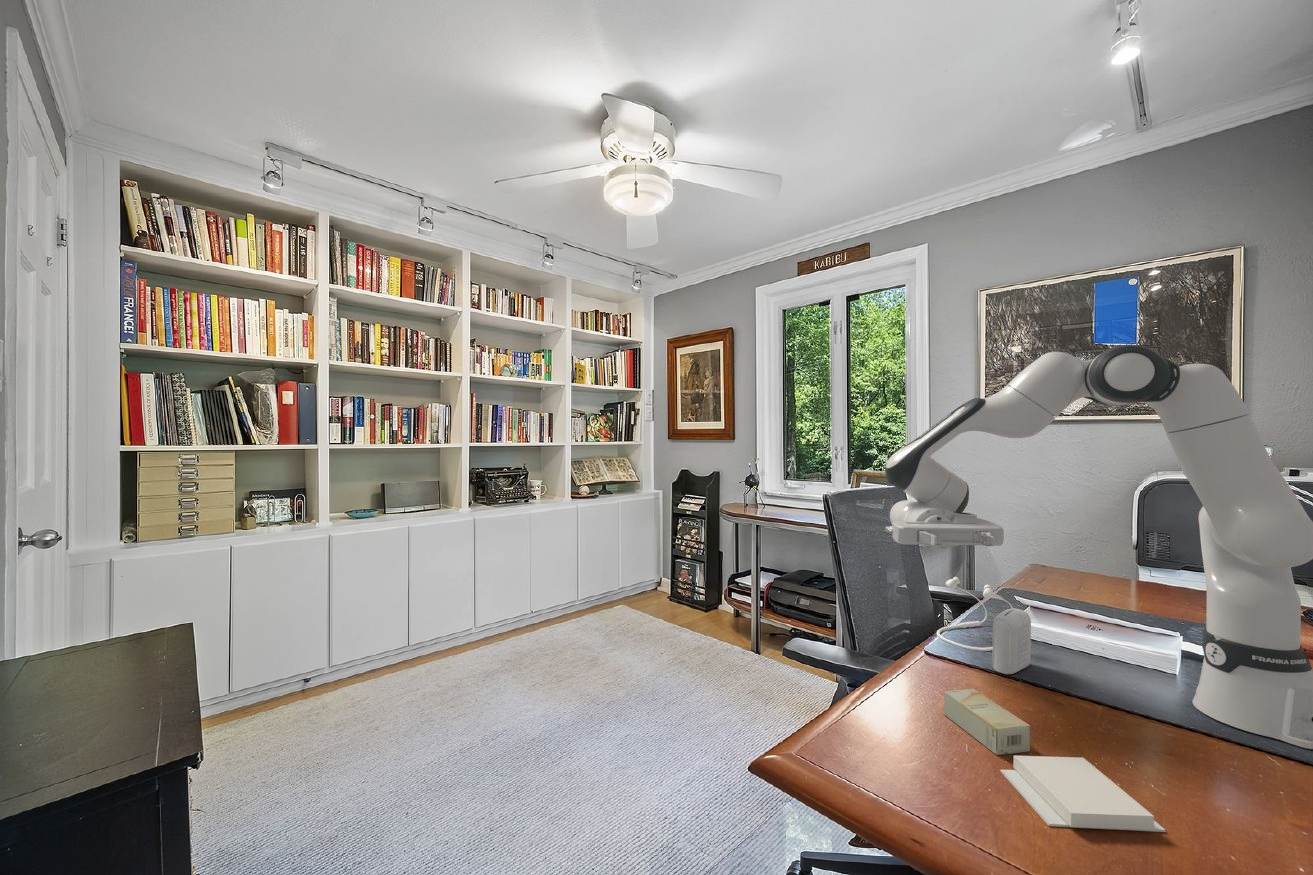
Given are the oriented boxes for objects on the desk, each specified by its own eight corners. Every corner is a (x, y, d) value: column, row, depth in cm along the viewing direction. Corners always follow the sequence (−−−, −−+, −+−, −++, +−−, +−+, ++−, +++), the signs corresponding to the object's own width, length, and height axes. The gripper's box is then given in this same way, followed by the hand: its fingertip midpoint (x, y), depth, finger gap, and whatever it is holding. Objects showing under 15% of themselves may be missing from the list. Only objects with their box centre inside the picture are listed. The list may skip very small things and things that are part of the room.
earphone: (1032, 621, 131) (1001, 582, 124) (1007, 683, 126) (974, 646, 119) (975, 605, 143) (945, 569, 136) (951, 661, 138) (918, 626, 131)
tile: (1083, 757, 79) (1154, 816, 67) (1083, 770, 79) (1153, 831, 67) (1013, 755, 80) (1071, 813, 68) (1013, 768, 80) (1071, 828, 68)
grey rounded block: (1011, 658, 119) (1012, 602, 119) (1033, 665, 115) (1034, 608, 115) (988, 669, 113) (989, 611, 113) (1011, 677, 110) (1011, 617, 110)
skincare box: (997, 729, 83) (942, 690, 95) (996, 757, 83) (942, 714, 95) (1032, 725, 84) (974, 687, 96) (1031, 752, 84) (973, 711, 96)
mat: (1100, 775, 79) (1100, 773, 79) (1165, 832, 68) (1165, 829, 68) (1000, 771, 80) (1000, 769, 80) (1048, 826, 69) (1048, 823, 69)
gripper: (882, 512, 115) (907, 524, 101) (981, 513, 113) (1020, 525, 100) (882, 542, 115) (907, 557, 101) (981, 543, 113) (1020, 559, 100)
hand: (964, 541), depth 100 cm, fingers open, 8 cm apart
